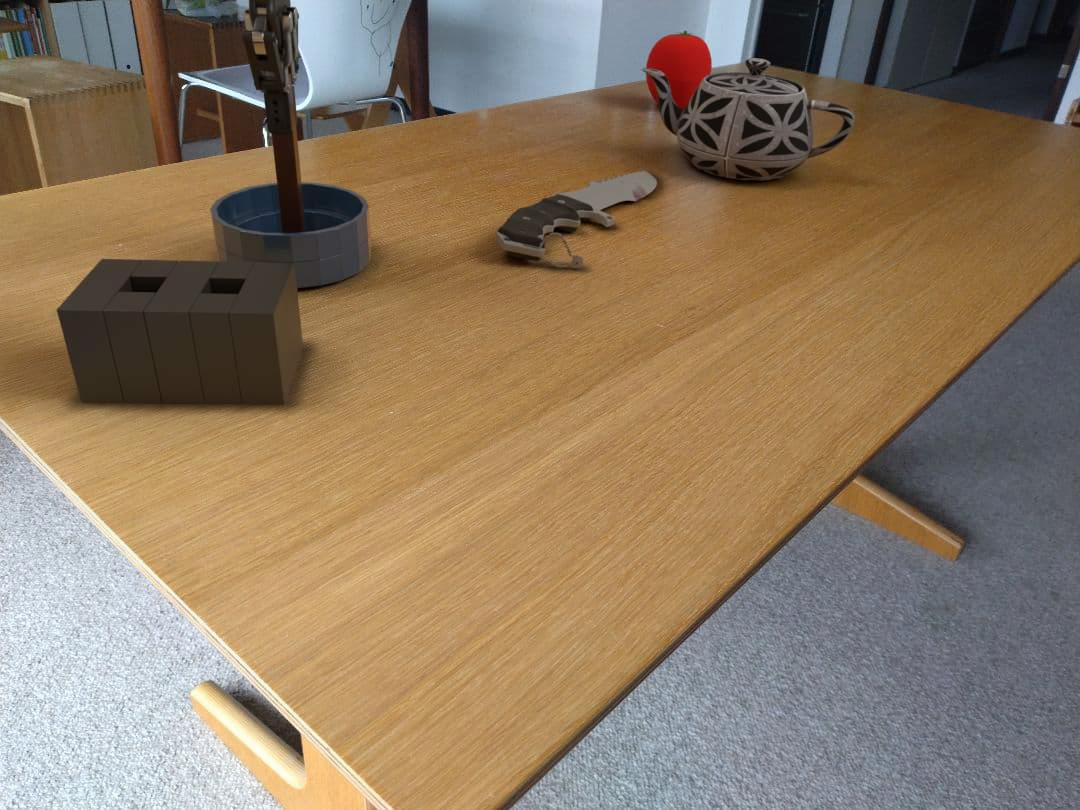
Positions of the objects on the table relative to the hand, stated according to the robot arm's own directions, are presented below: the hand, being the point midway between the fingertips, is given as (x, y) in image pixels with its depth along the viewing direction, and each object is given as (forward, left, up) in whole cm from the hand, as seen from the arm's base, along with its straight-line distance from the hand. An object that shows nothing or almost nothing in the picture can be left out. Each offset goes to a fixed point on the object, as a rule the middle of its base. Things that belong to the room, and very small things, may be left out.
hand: (283, 128), depth 84 cm
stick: (0, 0, -13) cm, 13 cm away
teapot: (+56, +38, -14) cm, 69 cm away
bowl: (0, 0, -14) cm, 14 cm away
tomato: (+54, +71, -14) cm, 90 cm away
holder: (-4, -23, -14) cm, 27 cm away
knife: (+32, +16, -14) cm, 38 cm away
